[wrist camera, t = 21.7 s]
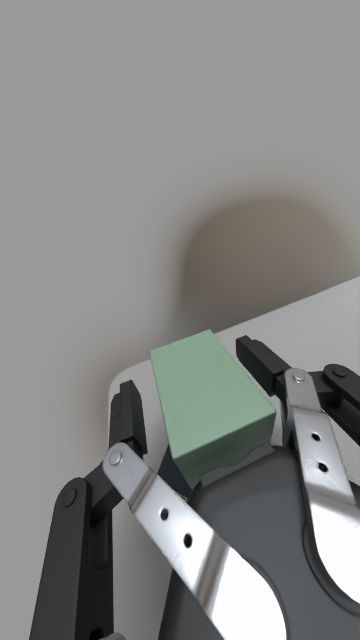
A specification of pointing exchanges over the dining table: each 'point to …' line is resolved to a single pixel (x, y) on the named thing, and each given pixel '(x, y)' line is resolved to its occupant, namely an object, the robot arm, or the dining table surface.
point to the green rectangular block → (208, 405)
